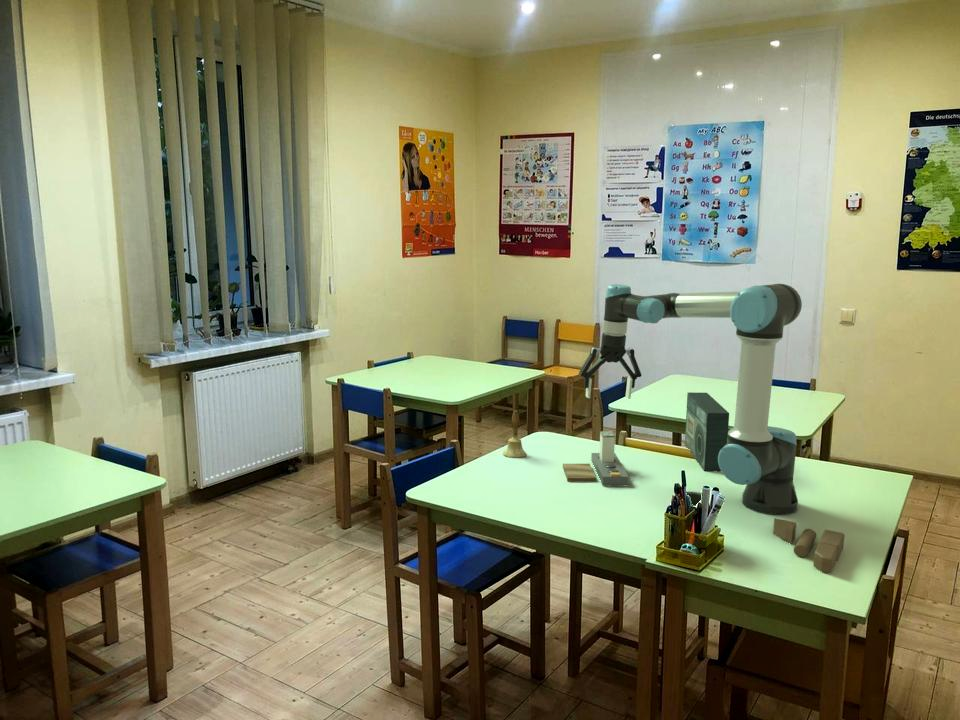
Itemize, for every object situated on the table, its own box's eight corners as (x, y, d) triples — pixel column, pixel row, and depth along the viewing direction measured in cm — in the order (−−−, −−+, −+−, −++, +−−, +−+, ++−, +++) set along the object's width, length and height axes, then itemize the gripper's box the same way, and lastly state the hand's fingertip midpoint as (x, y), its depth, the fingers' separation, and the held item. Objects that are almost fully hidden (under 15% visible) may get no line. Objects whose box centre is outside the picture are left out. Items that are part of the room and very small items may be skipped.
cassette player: (684, 445, 275) (687, 392, 271) (703, 445, 275) (706, 392, 271) (704, 471, 246) (707, 412, 243) (725, 471, 246) (729, 413, 242)
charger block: (613, 470, 247) (614, 435, 245) (601, 470, 247) (602, 435, 245) (611, 465, 252) (612, 431, 250) (599, 465, 252) (600, 431, 250)
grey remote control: (628, 485, 233) (628, 474, 232) (602, 485, 233) (603, 474, 232) (614, 461, 256) (614, 450, 256) (591, 461, 256) (591, 450, 256)
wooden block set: (845, 528, 188) (833, 554, 174) (843, 549, 189) (831, 577, 175) (775, 513, 198) (758, 537, 183) (773, 533, 199) (756, 558, 184)
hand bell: (520, 449, 270) (520, 406, 267) (530, 456, 262) (530, 412, 259) (499, 452, 267) (499, 409, 264) (508, 459, 259) (508, 414, 256)
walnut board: (595, 481, 237) (596, 477, 237) (567, 481, 237) (567, 477, 237) (589, 467, 251) (589, 463, 250) (562, 467, 251) (562, 463, 250)
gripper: (647, 331, 242) (640, 394, 248) (573, 330, 238) (567, 393, 244) (656, 336, 235) (648, 400, 240) (579, 335, 231) (573, 400, 237)
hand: (607, 397), depth 242 cm, fingers open, 13 cm apart
